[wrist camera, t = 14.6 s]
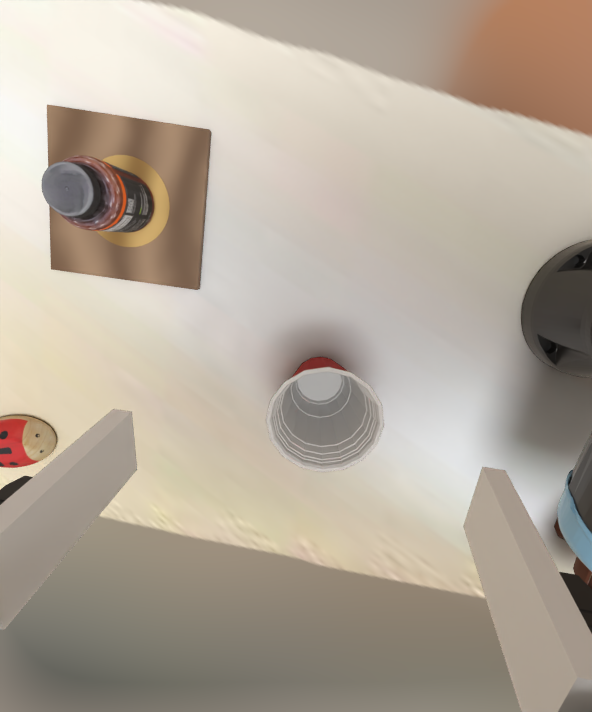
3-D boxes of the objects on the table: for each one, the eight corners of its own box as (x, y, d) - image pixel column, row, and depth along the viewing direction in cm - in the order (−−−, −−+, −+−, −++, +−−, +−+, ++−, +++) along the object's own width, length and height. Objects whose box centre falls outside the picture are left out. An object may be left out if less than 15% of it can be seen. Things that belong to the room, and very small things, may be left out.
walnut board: (211, 132, 40) (208, 129, 39) (199, 288, 45) (197, 289, 43) (53, 108, 40) (46, 104, 39) (56, 268, 44) (50, 269, 43)
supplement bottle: (90, 180, 40) (13, 156, 30) (145, 165, 40) (87, 134, 29) (111, 239, 42) (45, 237, 31) (164, 225, 42) (116, 217, 31)
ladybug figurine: (66, 455, 51) (49, 470, 47) (-6, 466, 51) (-28, 482, 48) (49, 407, 49) (30, 419, 45) (-26, 419, 49) (-51, 432, 46)
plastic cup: (259, 401, 48) (247, 451, 37) (295, 322, 46) (295, 347, 34) (339, 435, 49) (351, 493, 38) (379, 359, 47) (406, 396, 35)
